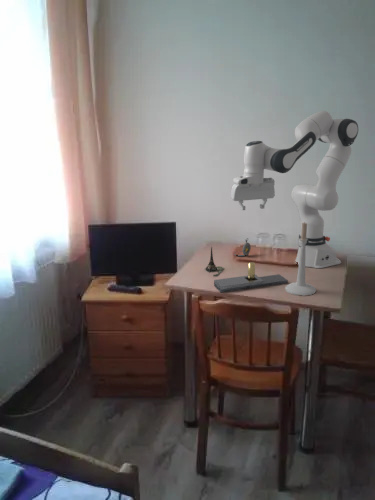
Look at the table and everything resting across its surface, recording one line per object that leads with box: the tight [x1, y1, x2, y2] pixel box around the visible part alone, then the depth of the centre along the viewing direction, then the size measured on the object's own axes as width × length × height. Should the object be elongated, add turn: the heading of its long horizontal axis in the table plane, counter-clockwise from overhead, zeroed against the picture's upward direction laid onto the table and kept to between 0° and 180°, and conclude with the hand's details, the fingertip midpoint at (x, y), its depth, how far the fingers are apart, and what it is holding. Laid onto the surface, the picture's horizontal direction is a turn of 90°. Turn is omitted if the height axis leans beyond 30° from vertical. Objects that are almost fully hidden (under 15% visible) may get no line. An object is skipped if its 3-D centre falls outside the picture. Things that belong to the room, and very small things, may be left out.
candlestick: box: [284, 222, 317, 297], centre depth 188 cm, size 13×13×30 cm
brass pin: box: [247, 261, 256, 281], centre depth 198 cm, size 3×3×10 cm
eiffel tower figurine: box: [204, 244, 226, 277], centre depth 216 cm, size 15×10×13 cm
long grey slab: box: [213, 274, 288, 293], centre depth 199 cm, size 32×8×3 cm, turn 107°
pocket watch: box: [234, 238, 251, 257], centre depth 237 cm, size 8×8×10 cm
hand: (252, 209), depth 203 cm, fingers open, 8 cm apart
